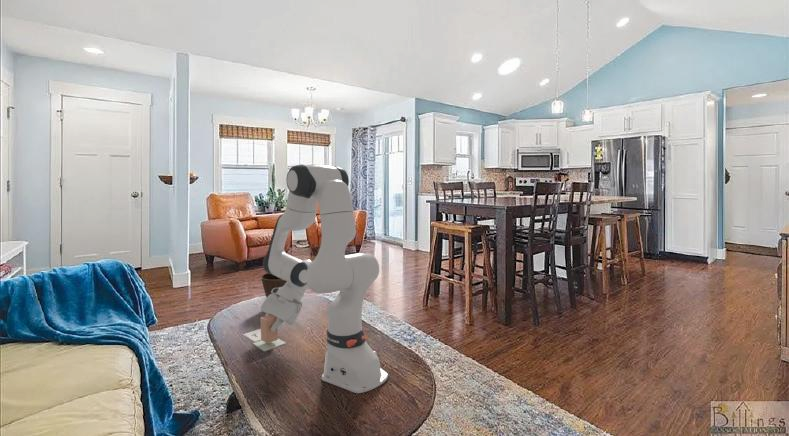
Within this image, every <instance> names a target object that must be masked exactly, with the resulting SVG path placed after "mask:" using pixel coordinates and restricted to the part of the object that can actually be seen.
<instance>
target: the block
mask: <svg viewBox="0 0 789 436" xmlns="http://www.w3.org/2000/svg"><path fill="white" fill-rule="evenodd" d="M259 319H260V329H261V340H262V341H264V342H265V343H270V342H273V341H276V340H278V339H279V336H278V332H279V331H278V327H277V328H276V329H275V331H272V330H271V329H269V327H270V326H271V325H273V324H274V323H275V322H276V320H277V317H275V316H273V315H271V314H270V315H267V316H265V315H263V316H261V317H259ZM261 340H260V341H261Z"/></svg>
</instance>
